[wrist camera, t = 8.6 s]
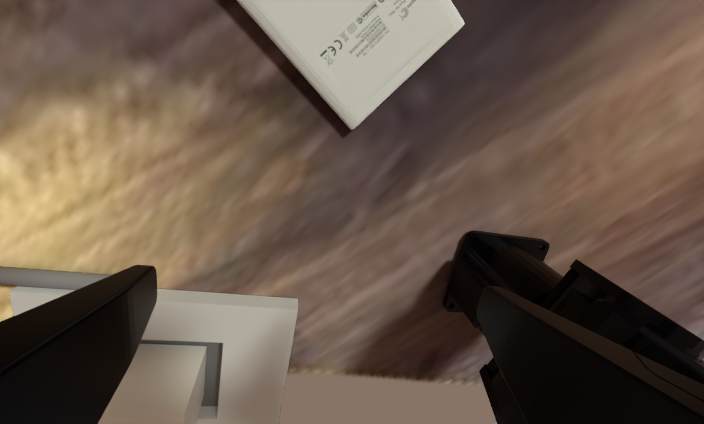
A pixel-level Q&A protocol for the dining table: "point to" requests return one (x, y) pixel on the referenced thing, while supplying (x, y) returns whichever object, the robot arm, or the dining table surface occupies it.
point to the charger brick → (160, 386)
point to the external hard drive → (356, 44)
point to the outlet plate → (218, 346)
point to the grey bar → (47, 278)
